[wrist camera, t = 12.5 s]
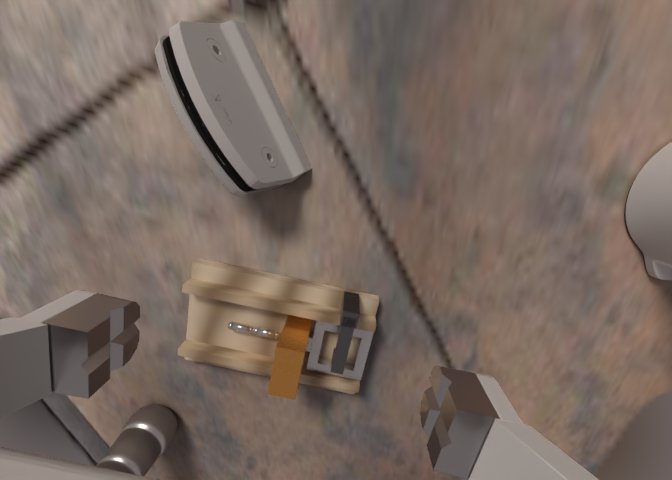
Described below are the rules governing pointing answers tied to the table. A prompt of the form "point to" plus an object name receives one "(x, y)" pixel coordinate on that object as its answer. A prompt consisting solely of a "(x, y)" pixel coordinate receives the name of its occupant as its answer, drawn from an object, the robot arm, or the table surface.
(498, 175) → the table surface
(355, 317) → the keeper hook
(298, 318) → the chain end link
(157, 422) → the plastic bottle
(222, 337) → the guide board
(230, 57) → the grey rounded slab
